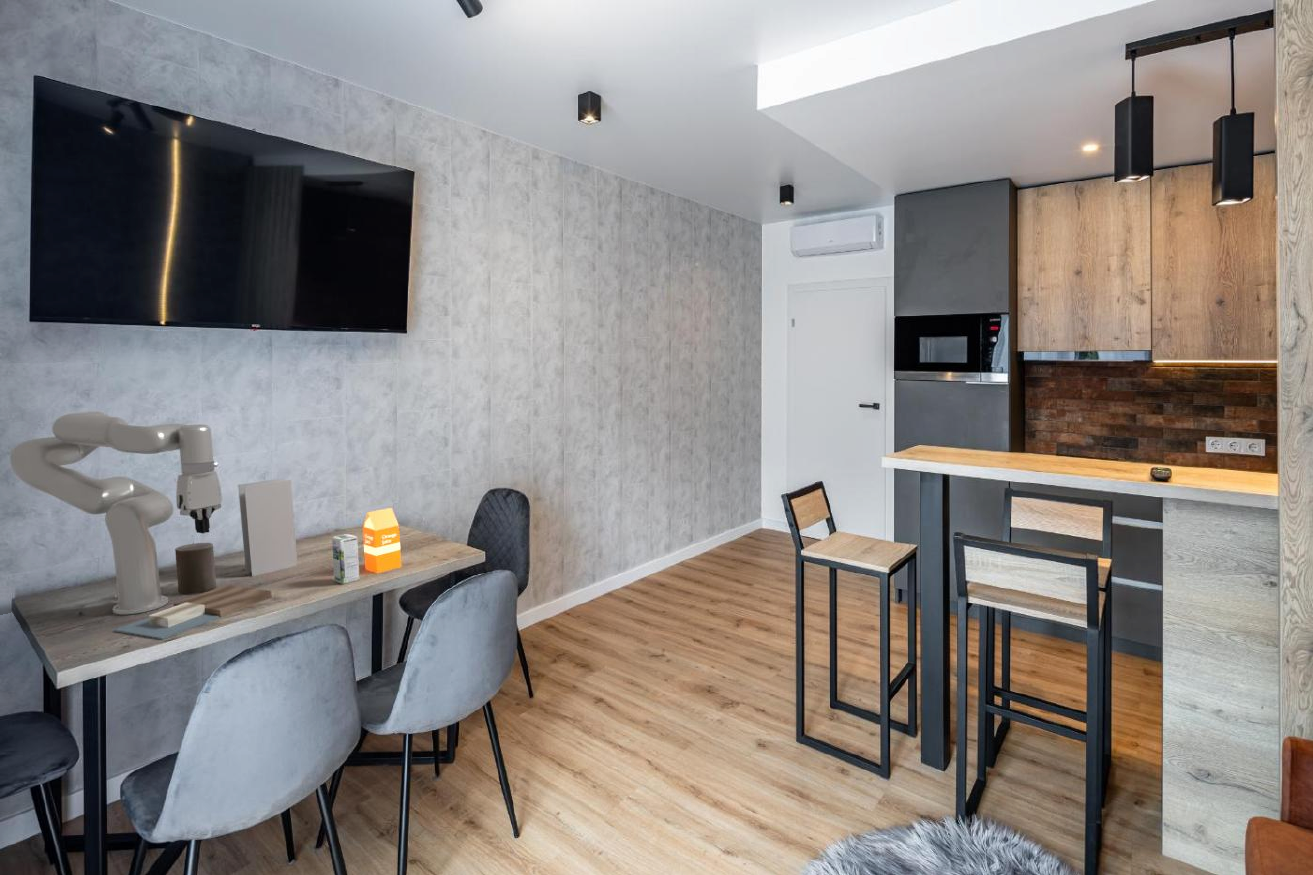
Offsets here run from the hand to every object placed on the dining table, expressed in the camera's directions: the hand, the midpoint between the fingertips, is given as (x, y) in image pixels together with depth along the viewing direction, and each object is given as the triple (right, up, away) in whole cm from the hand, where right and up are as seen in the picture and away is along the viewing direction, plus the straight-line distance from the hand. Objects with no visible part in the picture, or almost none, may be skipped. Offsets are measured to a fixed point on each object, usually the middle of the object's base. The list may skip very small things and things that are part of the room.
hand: (202, 532), depth 187 cm
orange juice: (+37, -18, +36) cm, 54 cm away
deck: (+3, -21, +4) cm, 22 cm away
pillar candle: (-13, -20, +17) cm, 30 cm away
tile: (-1, -22, -9) cm, 24 cm away
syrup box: (+30, -19, +23) cm, 43 cm away
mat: (-2, -23, -11) cm, 26 cm away
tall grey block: (-1, -18, +36) cm, 40 cm away
